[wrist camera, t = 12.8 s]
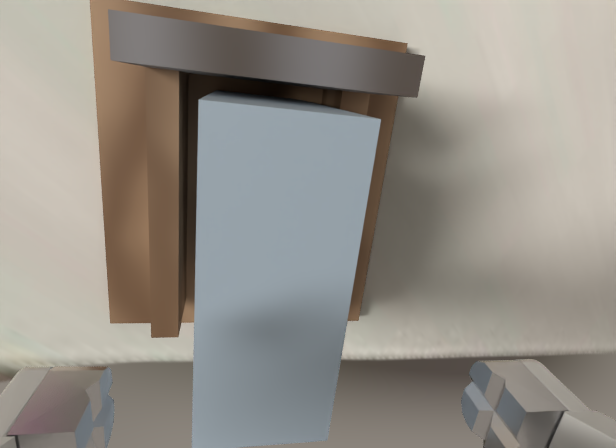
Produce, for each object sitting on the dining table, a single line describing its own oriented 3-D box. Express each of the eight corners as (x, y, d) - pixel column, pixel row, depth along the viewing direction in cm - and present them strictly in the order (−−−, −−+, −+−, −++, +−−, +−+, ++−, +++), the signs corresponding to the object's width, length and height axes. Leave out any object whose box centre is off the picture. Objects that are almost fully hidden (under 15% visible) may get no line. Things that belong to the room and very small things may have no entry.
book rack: (400, 44, 25) (518, 18, 15) (354, 313, 31) (414, 424, 21) (95, -2, 21) (-30, -80, 11) (114, 315, 27) (46, 451, 17)
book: (299, 99, 24) (381, 118, 11) (282, 273, 28) (327, 440, 15) (216, 90, 23) (198, 99, 10) (210, 272, 27) (191, 451, 14)
